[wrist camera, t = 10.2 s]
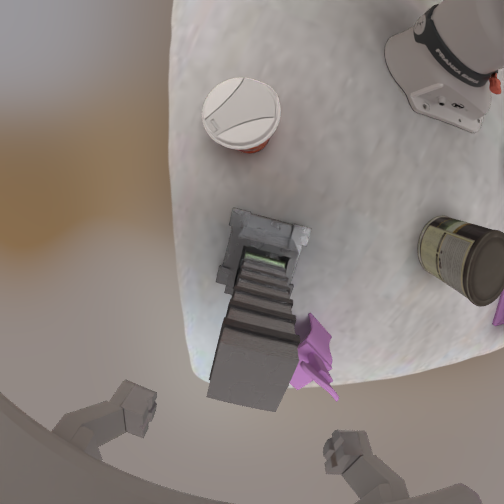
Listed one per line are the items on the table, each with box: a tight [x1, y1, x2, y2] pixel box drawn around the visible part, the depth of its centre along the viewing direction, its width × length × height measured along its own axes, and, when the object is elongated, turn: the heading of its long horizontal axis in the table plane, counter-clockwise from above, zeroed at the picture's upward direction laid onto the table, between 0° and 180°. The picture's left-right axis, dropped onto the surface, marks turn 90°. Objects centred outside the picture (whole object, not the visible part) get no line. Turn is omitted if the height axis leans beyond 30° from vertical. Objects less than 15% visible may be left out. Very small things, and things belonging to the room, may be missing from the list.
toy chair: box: [290, 313, 339, 401], centre depth 36 cm, size 8×9×15 cm
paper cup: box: [202, 77, 281, 153], centre depth 29 cm, size 8×8×14 cm
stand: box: [216, 208, 311, 299], centre depth 35 cm, size 11×11×10 cm
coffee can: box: [418, 216, 504, 306], centre depth 31 cm, size 10×10×14 cm
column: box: [207, 251, 300, 412], centre depth 22 cm, size 4×4×18 cm
